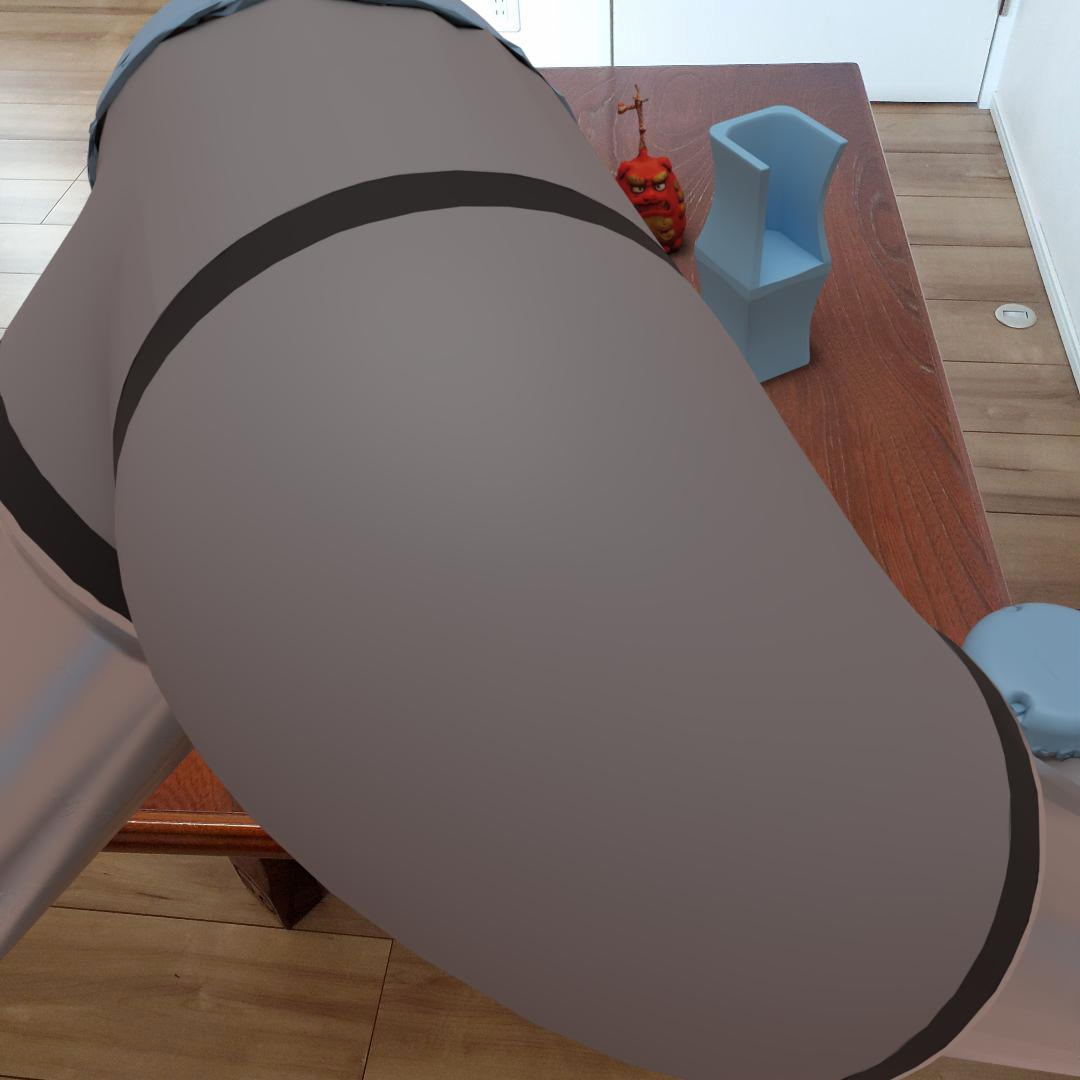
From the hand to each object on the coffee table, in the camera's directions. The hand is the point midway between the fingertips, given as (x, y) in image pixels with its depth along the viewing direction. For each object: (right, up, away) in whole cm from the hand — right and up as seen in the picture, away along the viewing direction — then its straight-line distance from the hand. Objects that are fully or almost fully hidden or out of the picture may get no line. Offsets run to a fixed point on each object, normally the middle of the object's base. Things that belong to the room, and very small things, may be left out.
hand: (452, 624), depth 71 cm
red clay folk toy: (+16, +35, +41) cm, 56 cm away
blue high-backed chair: (+24, +22, +28) cm, 43 cm away
